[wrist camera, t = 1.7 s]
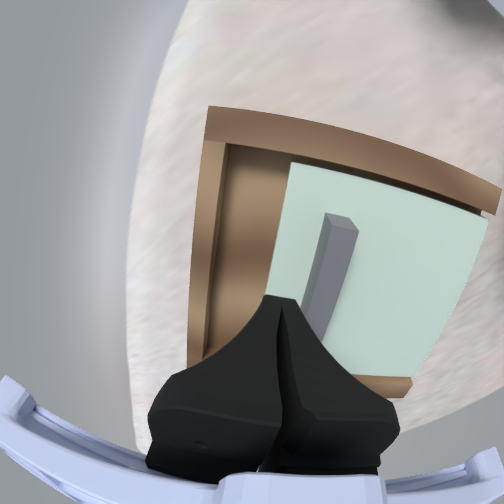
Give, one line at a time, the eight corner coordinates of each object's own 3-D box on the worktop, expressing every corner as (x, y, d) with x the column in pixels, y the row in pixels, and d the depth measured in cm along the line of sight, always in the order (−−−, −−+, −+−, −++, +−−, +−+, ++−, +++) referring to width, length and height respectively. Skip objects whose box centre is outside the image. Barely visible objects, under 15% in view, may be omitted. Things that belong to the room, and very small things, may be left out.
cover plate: (410, 367, 18) (421, 396, 15) (252, 350, 18) (246, 384, 15) (480, 214, 13) (509, 231, 10) (290, 160, 13) (293, 166, 11)
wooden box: (394, 372, 20) (403, 398, 17) (197, 345, 20) (186, 372, 18) (475, 179, 13) (501, 189, 11) (222, 110, 14) (208, 105, 11)
